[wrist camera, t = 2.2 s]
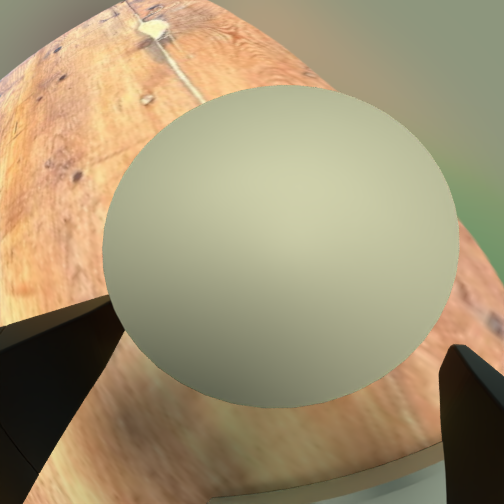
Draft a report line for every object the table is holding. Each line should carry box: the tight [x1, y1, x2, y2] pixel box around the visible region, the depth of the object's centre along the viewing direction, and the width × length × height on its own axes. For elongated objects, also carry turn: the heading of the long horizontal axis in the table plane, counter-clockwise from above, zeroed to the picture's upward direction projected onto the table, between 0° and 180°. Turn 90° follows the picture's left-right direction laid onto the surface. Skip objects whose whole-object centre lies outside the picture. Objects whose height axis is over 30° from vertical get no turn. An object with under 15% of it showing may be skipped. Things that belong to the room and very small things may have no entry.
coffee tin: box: [102, 85, 459, 408], centre depth 11 cm, size 6×6×13 cm
